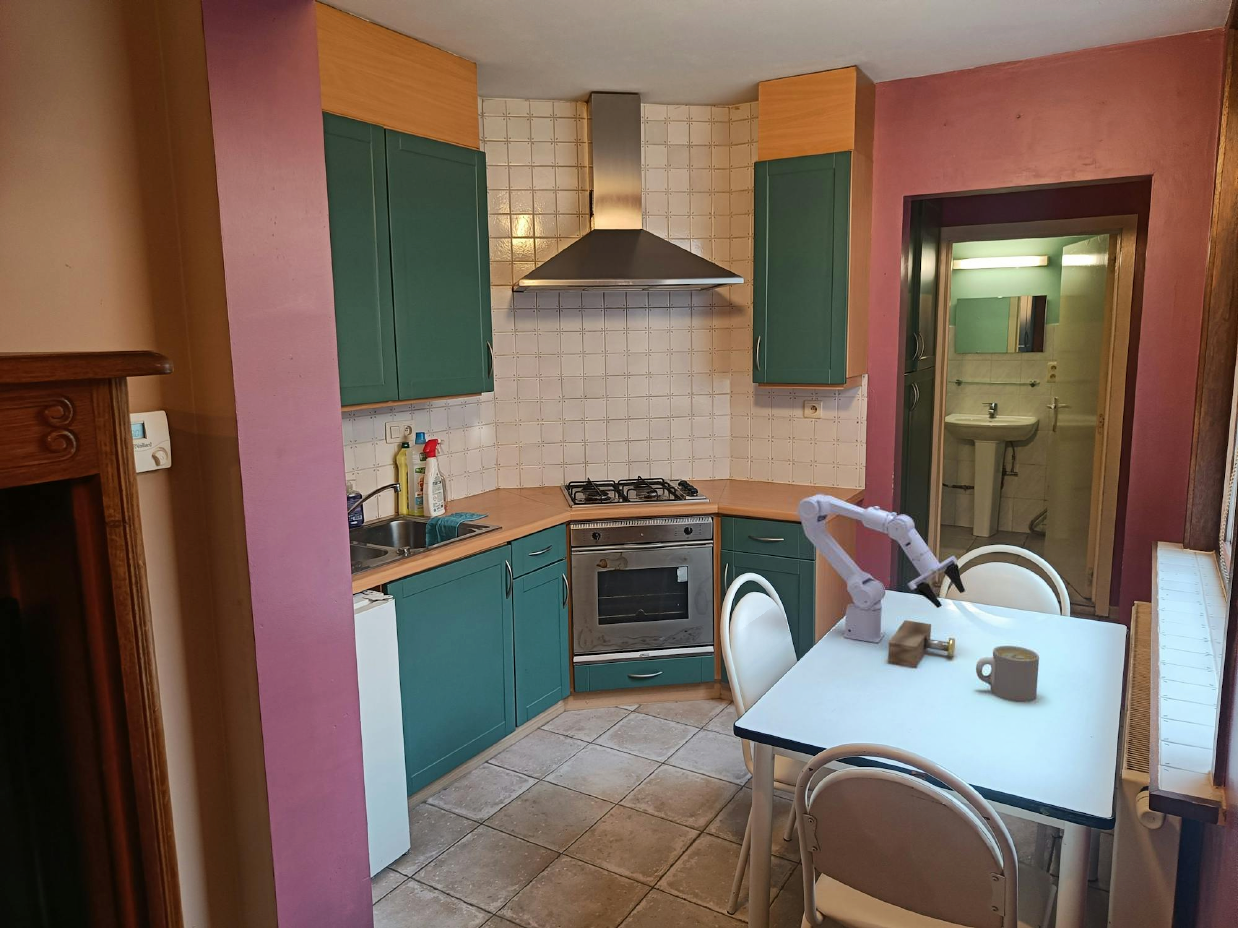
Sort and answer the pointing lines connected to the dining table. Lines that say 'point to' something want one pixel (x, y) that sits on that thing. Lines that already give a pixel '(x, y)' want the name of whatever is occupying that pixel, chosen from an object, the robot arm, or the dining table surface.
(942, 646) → the steel pin
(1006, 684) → the coffee mug
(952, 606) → the dining table surface
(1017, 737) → the dining table surface
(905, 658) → the drawbar beam
